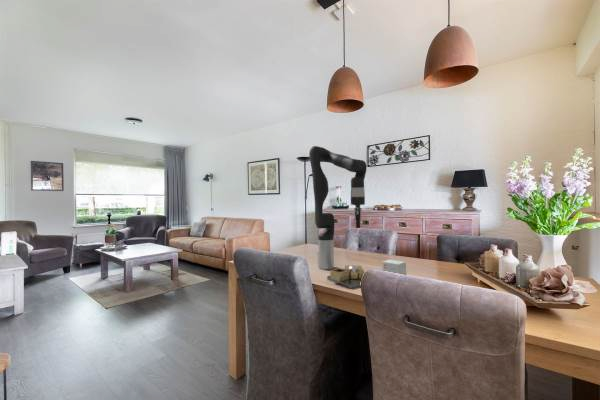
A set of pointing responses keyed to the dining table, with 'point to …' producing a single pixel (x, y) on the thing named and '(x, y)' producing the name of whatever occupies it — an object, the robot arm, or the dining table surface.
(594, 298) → the dining table surface
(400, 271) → the small box
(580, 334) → the dining table surface
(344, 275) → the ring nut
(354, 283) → the nut base plate
